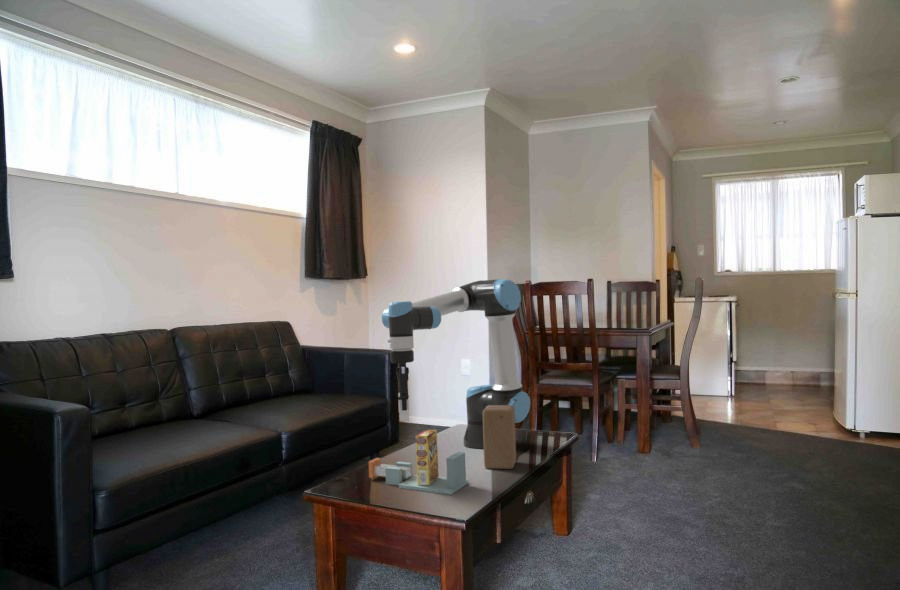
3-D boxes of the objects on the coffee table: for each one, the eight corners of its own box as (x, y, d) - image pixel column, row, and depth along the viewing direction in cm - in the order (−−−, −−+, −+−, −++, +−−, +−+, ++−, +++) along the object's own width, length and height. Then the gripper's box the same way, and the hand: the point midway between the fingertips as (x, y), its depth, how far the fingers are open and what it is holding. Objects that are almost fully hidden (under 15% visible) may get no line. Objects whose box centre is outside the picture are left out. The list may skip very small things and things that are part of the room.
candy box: (429, 486, 183) (428, 435, 183) (416, 485, 184) (415, 435, 184) (439, 477, 191) (437, 429, 191) (426, 477, 193) (425, 429, 193)
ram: (377, 473, 199) (377, 457, 199) (412, 477, 193) (412, 461, 193) (369, 477, 195) (368, 461, 195) (404, 482, 189) (404, 465, 189)
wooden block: (513, 470, 201) (511, 410, 201) (483, 469, 203) (482, 409, 203) (516, 461, 211) (514, 404, 211) (488, 461, 213) (486, 404, 213)
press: (402, 475, 199) (401, 444, 199) (468, 483, 188) (467, 451, 188) (382, 485, 188) (381, 453, 188) (451, 494, 177) (450, 460, 177)
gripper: (389, 347, 204) (391, 410, 203) (390, 353, 179) (392, 425, 179) (411, 346, 205) (413, 409, 204) (415, 352, 180) (417, 423, 180)
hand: (403, 416), depth 191 cm, fingers open, 13 cm apart
